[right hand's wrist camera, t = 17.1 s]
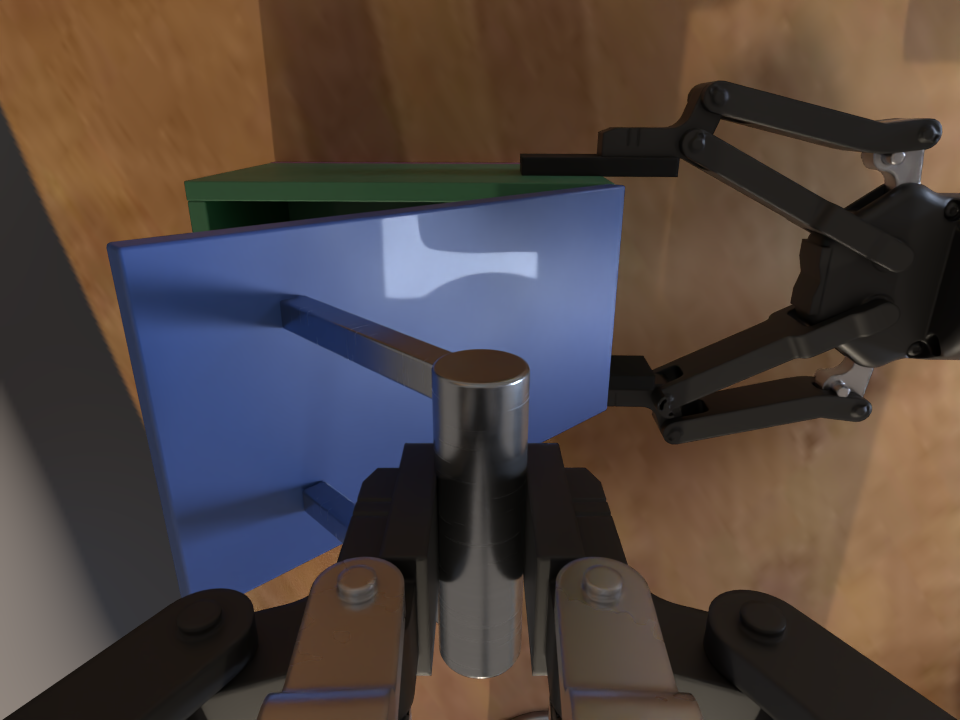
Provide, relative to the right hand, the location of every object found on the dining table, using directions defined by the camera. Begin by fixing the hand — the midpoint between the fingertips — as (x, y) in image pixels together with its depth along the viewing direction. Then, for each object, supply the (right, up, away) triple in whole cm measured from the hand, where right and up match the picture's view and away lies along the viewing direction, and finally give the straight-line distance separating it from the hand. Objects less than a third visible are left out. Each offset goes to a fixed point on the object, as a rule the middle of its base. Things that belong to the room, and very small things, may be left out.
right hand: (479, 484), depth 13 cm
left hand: (+2, +7, +17) cm, 18 cm away
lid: (-1, +3, +7) cm, 8 cm away
